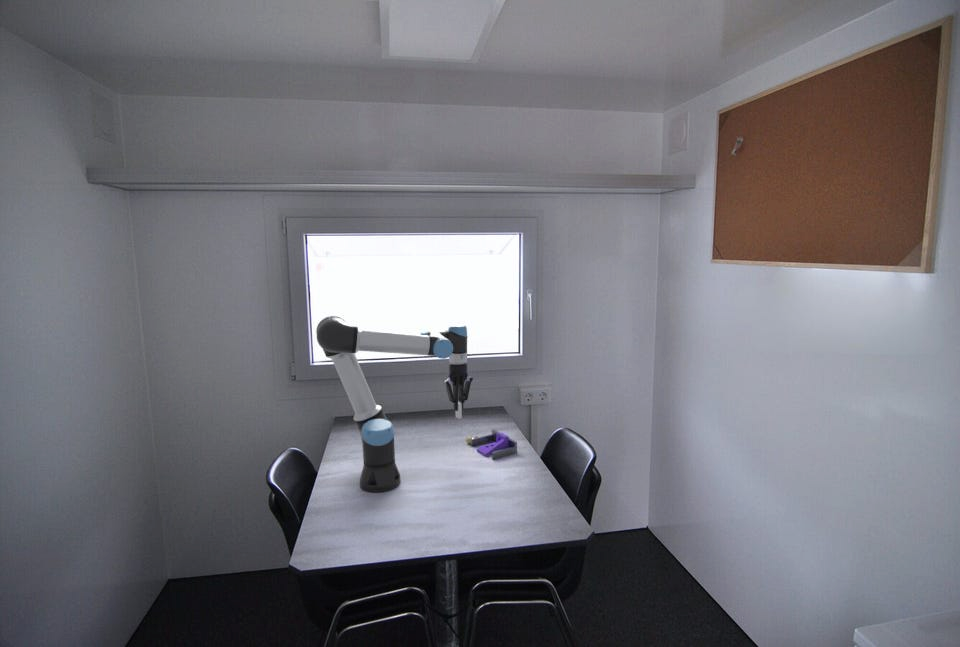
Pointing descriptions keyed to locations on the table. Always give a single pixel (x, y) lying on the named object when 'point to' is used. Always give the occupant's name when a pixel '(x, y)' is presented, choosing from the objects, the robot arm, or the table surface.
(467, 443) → the brass key
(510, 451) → the dock
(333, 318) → the robot arm
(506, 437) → the bracket
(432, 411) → the table surface
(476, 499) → the table surface
